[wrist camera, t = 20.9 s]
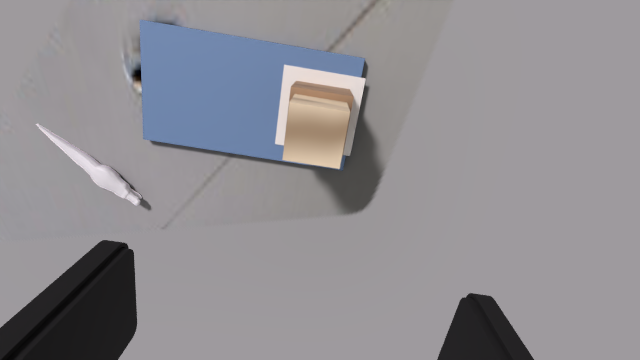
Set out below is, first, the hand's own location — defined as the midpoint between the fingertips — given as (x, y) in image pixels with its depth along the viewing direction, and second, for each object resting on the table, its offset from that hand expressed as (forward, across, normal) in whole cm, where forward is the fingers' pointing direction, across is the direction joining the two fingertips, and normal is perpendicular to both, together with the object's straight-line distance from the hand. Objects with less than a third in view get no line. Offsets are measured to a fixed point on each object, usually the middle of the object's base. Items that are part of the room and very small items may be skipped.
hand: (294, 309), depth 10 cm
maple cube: (+25, 0, 0) cm, 25 cm away
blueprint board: (+32, +8, 0) cm, 33 cm away
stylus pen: (+33, +27, +11) cm, 44 cm away
